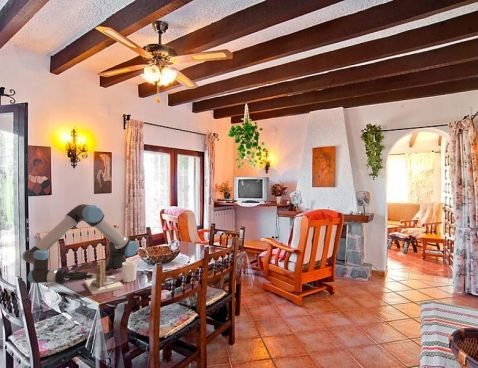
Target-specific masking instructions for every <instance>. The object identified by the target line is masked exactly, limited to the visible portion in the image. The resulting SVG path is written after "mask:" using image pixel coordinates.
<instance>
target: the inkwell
mask: <svg viewBox="0 0 478 368" xmlns="http://www.w3.org/2000/svg"><path fill="white" fill-rule="evenodd" d="M89 265H95V263H93V262H85V263H82V264H80V265H79V266H77V267H75V268H74V269H73V270H70V271H69V272H74V271H77V272H80V271H81V269H83V268H86V267H87V266H89Z"/></svg>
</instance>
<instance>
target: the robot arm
mask: <svg viewBox="0 0 478 368" xmlns="http://www.w3.org/2000/svg"><path fill="white" fill-rule="evenodd" d="M80 222H85V223H86V224H87V225H89V227H92V228H95V229H97V231H99V232H100V233H101V234H102V235H103V236H104V237H106V238H107V239H108V257H107V261H106V262H105V268H107V269H122V268H121V267H122V263H123V262H127V259H126V257H134V256H135V254H136V253H137V252H138V249H139V246H138V245H139V244H138V243H137V242H136V241H134V240H131V239H130V237H128V236H127V235H123V234H122V233H121V232H120V231H119V230H117V228H116V227H115V226H114V225H112V224H111V222H109V221H108V220H107V219H106V218H105V214H104V211H103V210H102V208H101V207H100V206H98V205H96V204H95V205H94V204H85V203H82V204H78V205H76V206H75V207H74V208H72V209H71V210H70V211H68V212H67V214H65V216H64V218H63V219H62V220H61V221H60V222H59V223H58V224H56V226H54V227H53V228H52V229H51V230H50V231H49V232H48V233H47V234H46V235H45V236H44V237H42V239H41V240H39V241H38V242H37V243H36V244H35V245H34V246H33V247H32V248H31V249H26V250H25V251H24V252H23V253H22V255H21V256H22V260H23V261H24V262H26V263H27V264H28V263H29V264H32V265H33V267H32V270H30V271H29V273H28V276H27V281H28V282H29V283H33V284H42V283H43V284H44V283H45V284H47V283H48V284H54V283H59V284H60V283H65V282H70V281H72V282H73V281H83V280H84V281H85V280H87V279H96V277H97V272H96V273H95V272H93V273H92V272H90V273H89V272H88V271H78V272H77V271H74V272H70V271H69V272H68V271H67V270H66V269H49V257H50V255H49V249H51V248H52V246H54V244H55V243H57V242H58V241H59V240H60V239H61V238H62V237H63V236H64V235H65V234H66V233H67V232H68V231H70V230H71V228H72V227H74V226H77V225H78V224H79V223H80Z"/></svg>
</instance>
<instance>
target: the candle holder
mask: <svg viewBox="0 0 478 368" xmlns="http://www.w3.org/2000/svg"><path fill="white" fill-rule="evenodd" d="M137 266H138V261H134V260H129V261H127V260H126V262H123V263H122V268H121V269H122V270H121V271H122V281H123V282H124V283H132V282H131V281H133V282H134V280H135V281H136V279H137V272H138V271H137V269H138V267H137Z"/></svg>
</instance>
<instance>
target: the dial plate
mask: <svg viewBox="0 0 478 368" xmlns="http://www.w3.org/2000/svg"><path fill="white" fill-rule="evenodd" d="M107 277H111V278H115V283H113V284H111V285H107V286H101V287H100V288H96V286H94V285H92V281H93V280H95V279H96V278H89V279H86V280H85V279H84V284H85V286H86V288H87V289H88V291H89V292H90V293H91V295H98V294H104V293H108V292H109V293H110V292H113V291H119V290H123V289H124V284H123V283H122V282H121V281H120V280H119V279H118V278H117V277H115V275H109V276H107Z"/></svg>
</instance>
